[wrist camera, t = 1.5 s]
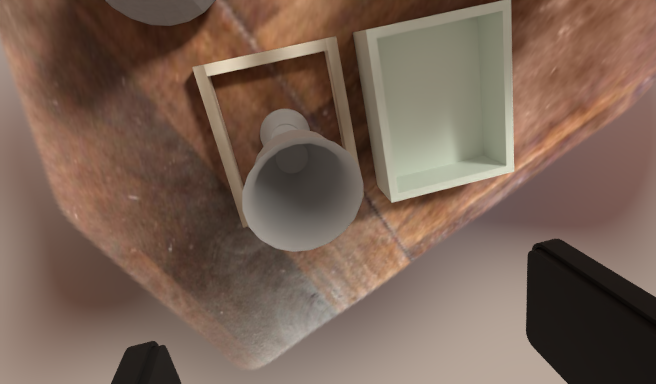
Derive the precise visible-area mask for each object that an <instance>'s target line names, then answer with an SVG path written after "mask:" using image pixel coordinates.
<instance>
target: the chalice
mask: <svg viewBox="0 0 656 384" xmlns="http://www.w3.org/2000/svg"><path fill="white" fill-rule="evenodd" d="M260 139H261V142H262V144H263V146H264V147H263V148H262V150H261V151H260V152H259V154H258V155H257V158H256V161H255V164H254V167H253V168H252V170H251V171H250V172H249V174H248V176H247V179H246V183H245V186H244V189H243V192H242V205H243V213H244V215H245V218H246V221H247V223H248V226H249V228H250V229H251V230H252V231H253V232H254V233H255V234H256V235H257V237H258V238H259V239H260V240H261V241H263V242H265V243H267V244H269V245H271V246H273V247H274V248H276V249H282V250H287V251H293V252H296V251H304V250H312V249H315V248H317V247H320V246H322V245H325V244H328V243H330V242H331V241H332V240H334V239H335V238H336V237H338V236H339V235H340V234H342V233H343V232H344V231H345V230H346V229H347V227H348V226H349V225H350V224H351V222H352V221H353V220H354V219H355V217H356V214H357V212H358V210H359V207H360V205H361V203H362V195H363V185H364V184H363V180H362V176H361V172H360V168H359V166H358V164H357V163H356V161H355V160H354V159H353V157H352V156H351V154H350V153H349V152H348V151H347V150H345V149H344V148H342V147H341V146H339V145H338V144H336V143H335V142H333V141H329V140H327V139H326V138H324V137H323V136H321V135H320V134H318V133H316V132H312V131H310V128H309V125H308V122H307V121H306V119H305V118H304V117H303V116H302V115H301V114H300V113H298V112H297V111H294V110H291V109H279V110H276V111H273V112H272V113H270V114H269V115H268V116H267V117H266V118H265V120H264V121H263V122H262V125H261V129H260Z"/></svg>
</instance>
